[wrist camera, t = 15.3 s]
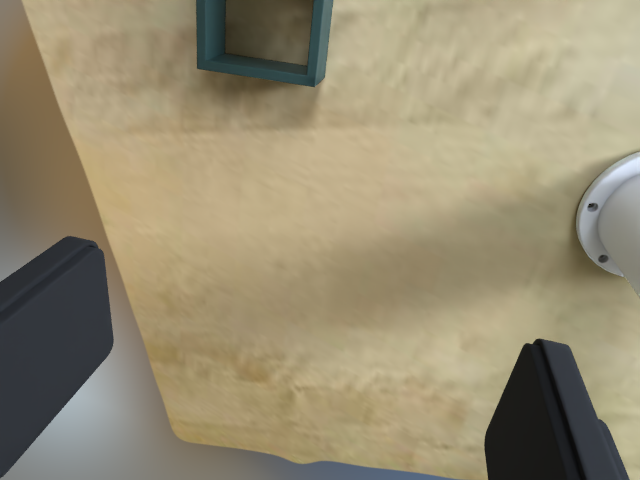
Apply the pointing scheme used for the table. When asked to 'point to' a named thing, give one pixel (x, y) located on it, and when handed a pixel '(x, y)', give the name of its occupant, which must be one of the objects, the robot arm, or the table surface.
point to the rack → (217, 60)
